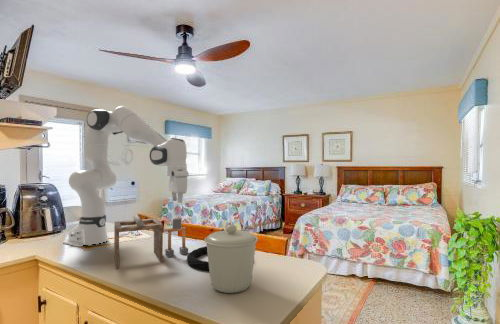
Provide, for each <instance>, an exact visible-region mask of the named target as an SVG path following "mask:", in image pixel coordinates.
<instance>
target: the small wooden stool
mask: <svg viewBox="0 0 500 324" xmlns="http://www.w3.org/2000/svg"><path fill="white" fill-rule="evenodd" d="M113 225H114V233H113V234H114V239H113V241H114V243H113V244H114V248H113V249H114V252H113V255H114V256H113V257H114V264H115V269H116V270H119V268H120V233H124V232H134V231H145V230H147V231H148V230H153V253H154V255H155V257H156V258H157V260H158V262H159V263H163V260H164V259H163V249H164V248H163V241H164V240H163V238H164V236H163V234H164V229H163V227H164V225H163V223H162V222H161V221H160V220H158V219H157V218H155V217H154V218H147V219H144V218H143V219H141V218H140V215H138V214H135V215H133V219H132V220H120V221H114V224H113Z"/></svg>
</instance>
